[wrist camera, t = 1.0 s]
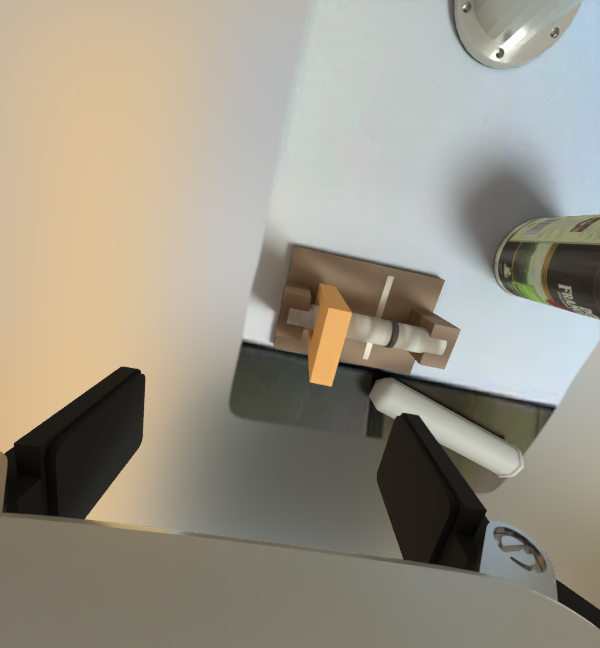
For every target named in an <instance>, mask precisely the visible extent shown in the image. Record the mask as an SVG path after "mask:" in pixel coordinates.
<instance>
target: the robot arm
mask: <svg viewBox="0 0 600 648" xmlns="http://www.w3.org/2000/svg"><path fill="white" fill-rule="evenodd" d="M582 1H583V0H454V16H455V22H456V28H457V31H458V34H459V37H460V39H461V41H462V43H463V45H464V46H465V48H466V50H467V51H468V52H469V53H470V54H471V55H472V56H473V57H474V59H476V60H477V61H479V62H480V63H482V64H484V65H486V66H489V67H492V68H499V69H508V68H515V67H518V66H521V65H524V64H527V63H529V62H530V61H532V60H534V59H535V58H537V57H539V56H540V55H541V54H543V53H544V52H545V51H546V50H548V49H549V48H550V47H552V46H553V45H554V44H555V43H556V42H557V41H558V40H559V39H560V38H561V36H562V35H563V34H564V33H565V31H566V30H567V29H568V27H569V26H570V25H571V23H572V21H573V19H574V17H575V16H576V14H577V12H578V10H579V8H580V5H581V3H582ZM144 396H145V375H144V374H141V371H140V370H139V369H135V368H129V367H120V368H119V369H117V370H116V371H114V372H113V373H112V374H110V375H109V376H107V377H106V378H105V379H103V380H102V381H101V382H99V383H98V384H96V385H95V386H94V387H92V388H91V389H89V390H88V391H86V392H85V393H84V394H82V395H81V396H79V397H78V398H77V399H75V400H74V401H72V402H71V403H70V404H68V405H67V406H65V407H64V408H63V409H61V410H60V411H58V412H57V413H56V414H54V415H53V416H51V417H50V418H49V419H47V420H46V421H44V422H43V423H42V424H40V425H39V426H37V427H36V428H35V429H33V430H32V431H31V432H29V433H28V434H26V435H25V436H23V437H22V438H21V439H19V440H18V441H16V442H15V443H14V447H13V448H11V449H10V450H9V451H7V452H6V453H5V454H3V453H2V452H0V648H600V610H599V609H598V608H596V607H595V606H593V605H592V604H591V603H589V602H588V601H586V600H585V599H584V598H582V597H581V596H579V595H578V594H576V593H575V592H574V591H572V590H571V589H569V588H568V587H566V586H565V585H564V584H562V583H561V582H559V581H557V580H556V577H555V570H554V567H553V564H552V562H551V560H550V559H549V557H548V555H547V554H546V553H545V551H544V550H543V549H542V548H541V547H540V546H539V545H538V544H537V543H536V542H535V541H534V540H533V539H532V538H531V537H529V536H528V535H527V534H525V533H524V532H522V531H521V530H519V529H518V528H515V527H514V526H512V525H510V524H507V523H504V522H501V521H493V522H489V521H488V520H487V518H486V516H485V513H486V511H487V510H486V509H485V507H484V506H483V505H482V503H481V502H480V501H479V499H478V498H477V496H476V495H475V493H474V492H473V490H472V489H471V488H470V486H469V485H468V483H467V482H466V481H465V479H464V478H463V476H462V475H461V474H460V472H459V471H458V469H457V468H456V467H455V465H454V464H453V462H452V461H451V460H450V458H449V457H448V455H447V454H446V453H445V451H444V450H443V448H442V447H441V446H440V444H439V443H438V441H437V440H436V439H435V437H434V436H433V434H432V433H431V432H430V430H429V429H428V427H427V426H426V425H425V423H424V422H423V420H422V419H421V417H420V416H419V415H415V414H409V413H401V415H400V416H396V418H395V420H394V423H393V426H392V429H391V432H390V435H389V439H388V442H387V445H386V448H385V451H384V454H383V457H382V460H381V463H380V466H379V469H378V472H377V482H378V486H379V489H380V492H381V495H382V497H383V500H384V503H385V506H386V509H387V512H388V515H389V518H390V521H391V524H392V527H393V530H394V533H395V536H396V538H397V541H398V544H399V547H400V550H401V553H402V556H403V559H404V560H402V559H395V558H388V557H380V556H372V555H365V554H358V553H350V552H343V551H335V550H328V549H321V548H313V547H305V546H298V545H290V544H282V543H274V542H267V541H266V542H265V541H259V540H251V539H242V538H235V537H227V536H219V535H211V534H203V533H195V532H187V531H178V530H170V529H161V528H154V527H145V526H137V525H129V524H120V523H112V522H104V521H94V520H85V518H86V516H87V515H88V514H89V513H90V511H91V510H92V508H93V507H94V506H95V505H96V503H97V502H98V501H99V499H100V498H101V497H102V495H103V494H104V493H105V491H106V490H107V489H108V487H109V486H110V485H111V484H112V482H113V481H114V480H115V478H116V477H117V476H118V474H119V473H120V471H121V470H122V469H123V468H124V467H125V465H126V464H127V463H128V461H129V460H130V459H131V457H132V456H133V455H134V453H135V452H136V451H137V449H138V448H139V446H140V444H141V442H142V438H143V418H144Z"/></svg>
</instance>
